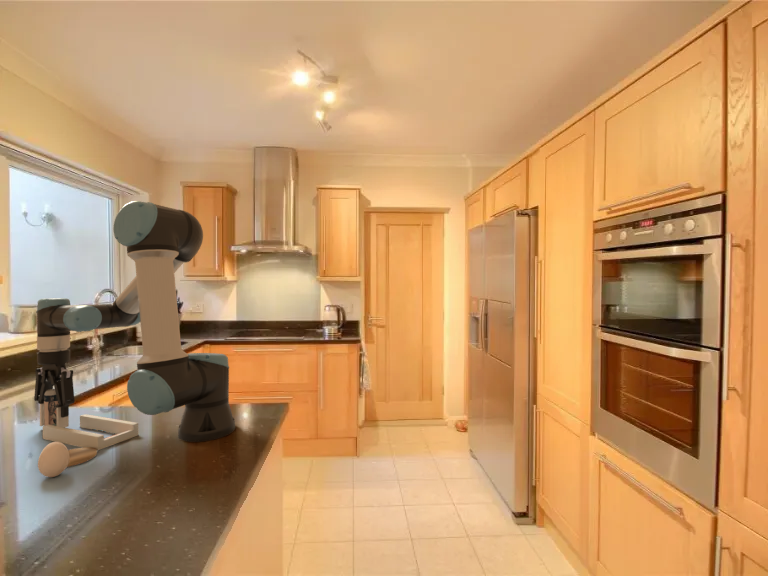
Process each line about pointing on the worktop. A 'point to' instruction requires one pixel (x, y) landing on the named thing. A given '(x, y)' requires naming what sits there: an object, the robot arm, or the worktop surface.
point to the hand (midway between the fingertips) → (54, 426)
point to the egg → (53, 459)
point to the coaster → (81, 455)
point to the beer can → (50, 407)
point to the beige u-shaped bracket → (89, 439)
